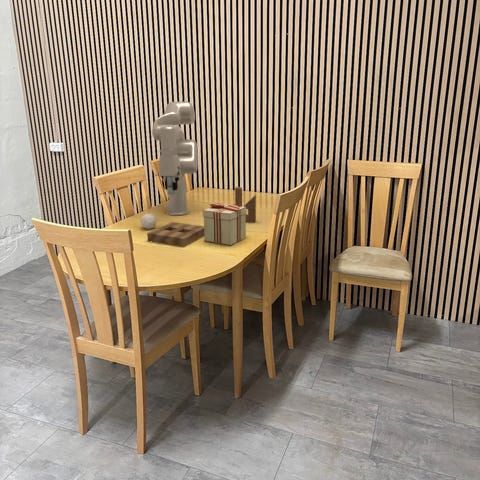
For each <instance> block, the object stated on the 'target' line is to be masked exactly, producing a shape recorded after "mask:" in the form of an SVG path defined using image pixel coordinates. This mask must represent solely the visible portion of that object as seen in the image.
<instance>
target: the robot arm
mask: <svg viewBox="0 0 480 480" xmlns="http://www.w3.org/2000/svg"><path fill="white" fill-rule="evenodd" d="M195 121H196V113H195V109H194V106H193V104H192V103H191V102H189V101H171V102H168V104H166V107H165V111H164V113H163V115H161V116H160V117H158V118H156V119H155V120H154V122H153V125H152V131H151V133H152V137H153V139H154V140H155V141H160V149H159V153H160V154H161V155H159V161H158V170H159V172H158V177H160V178H161V179H162V181H163V182H164V189H165V190H166V191H168V190H167V176H171V177H172V178H173V183H172V185H173V190H175V194H173V195H169V194H168V202H169V203H165V204H164V209H167V211H166V213H167V214H168V215H171V216H184V215H188V214H189V213H190V212H191V211H190V209H189V208H187V207H188V206H187V205H188V203H187V187H186V180H185V178H184V177H183V176H184V174H185V175H187V174H188V175H189V174H191V175H192V174H195V173H197V171H198V166H199V165H198V163H199V159H198V158H199V157H198V155H199V154H198V153H199V152H198V151H199V150H198V144H197V142H196V140H194V139H185V133H184V131H183V130H182V128H181V127H180V126H179V125H192V124H194V123H195Z"/></svg>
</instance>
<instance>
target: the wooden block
mask: <svg viewBox="0 0 480 480" xmlns="http://www.w3.org/2000/svg"><path fill="white" fill-rule="evenodd" d="M234 194H235V196H234V199H235V201H234V203H235V205H238V206H243V207H246V210H247V213H246V223H251V224H252V223H256V221H257V213H256V212H257V208H256V207H257V202H256V201H257V195H256V194H255V195H254V196H253V197H251V198H250V199H249V200H248V201H247V202H246V203H245V204H244V205H243V188H242V186H236V187H235V188H234Z"/></svg>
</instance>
